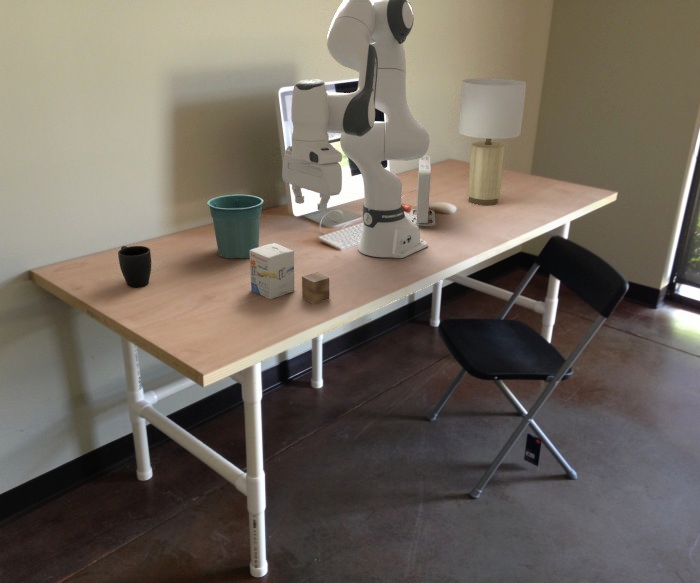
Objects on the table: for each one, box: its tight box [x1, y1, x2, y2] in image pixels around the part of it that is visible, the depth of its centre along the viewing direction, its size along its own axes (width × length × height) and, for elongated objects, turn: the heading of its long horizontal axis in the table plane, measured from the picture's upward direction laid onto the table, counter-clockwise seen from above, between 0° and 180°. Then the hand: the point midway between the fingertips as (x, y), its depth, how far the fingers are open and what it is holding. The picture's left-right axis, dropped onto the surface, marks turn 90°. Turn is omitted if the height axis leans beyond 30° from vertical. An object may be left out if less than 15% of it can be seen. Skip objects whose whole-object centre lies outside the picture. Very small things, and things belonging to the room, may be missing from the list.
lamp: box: [458, 77, 527, 206], centre depth 253 cm, size 23×23×44 cm
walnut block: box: [301, 271, 330, 305], centre depth 175 cm, size 5×5×6 cm
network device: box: [409, 154, 436, 227], centre depth 237 cm, size 26×9×20 cm, turn 175°
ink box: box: [249, 242, 296, 300], centre depth 178 cm, size 9×8×12 cm
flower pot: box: [207, 194, 264, 260], centre depth 203 cm, size 16×16×16 cm
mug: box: [117, 245, 152, 289], centre depth 183 cm, size 8×12×10 cm
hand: (310, 206), depth 168 cm, fingers open, 8 cm apart
